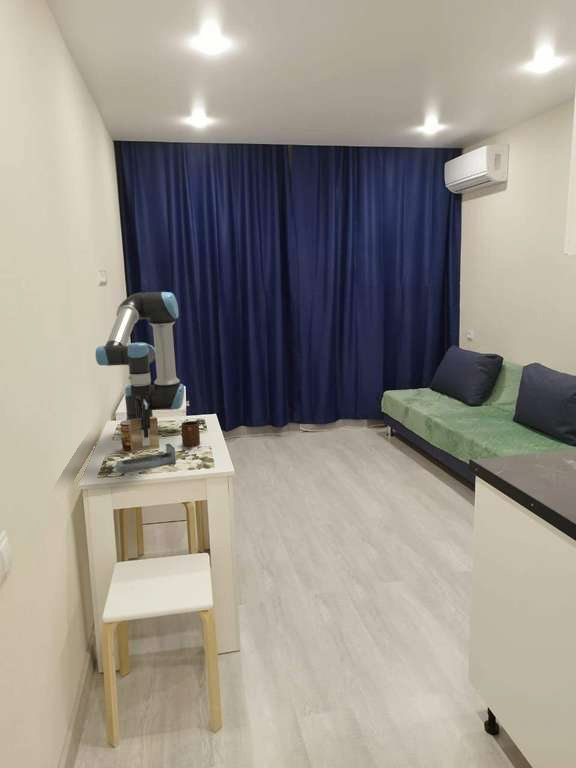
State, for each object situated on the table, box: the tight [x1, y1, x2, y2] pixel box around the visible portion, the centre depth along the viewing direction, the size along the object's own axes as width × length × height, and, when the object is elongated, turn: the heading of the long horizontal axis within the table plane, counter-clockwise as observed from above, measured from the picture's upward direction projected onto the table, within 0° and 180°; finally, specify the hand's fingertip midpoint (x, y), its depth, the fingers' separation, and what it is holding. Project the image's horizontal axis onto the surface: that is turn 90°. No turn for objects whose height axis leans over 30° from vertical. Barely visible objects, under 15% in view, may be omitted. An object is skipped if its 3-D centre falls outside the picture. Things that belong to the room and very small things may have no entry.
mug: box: [180, 420, 201, 447], centre depth 242 cm, size 12×8×9 cm, turn 7°
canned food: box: [119, 419, 133, 453], centre depth 239 cm, size 8×8×12 cm
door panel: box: [129, 416, 160, 453], centre depth 217 cm, size 3×10×12 cm, turn 118°
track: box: [115, 443, 177, 473], centre depth 219 cm, size 7×21×6 cm, turn 118°
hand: (145, 444), depth 218 cm, fingers closed on door panel, 3 cm apart
